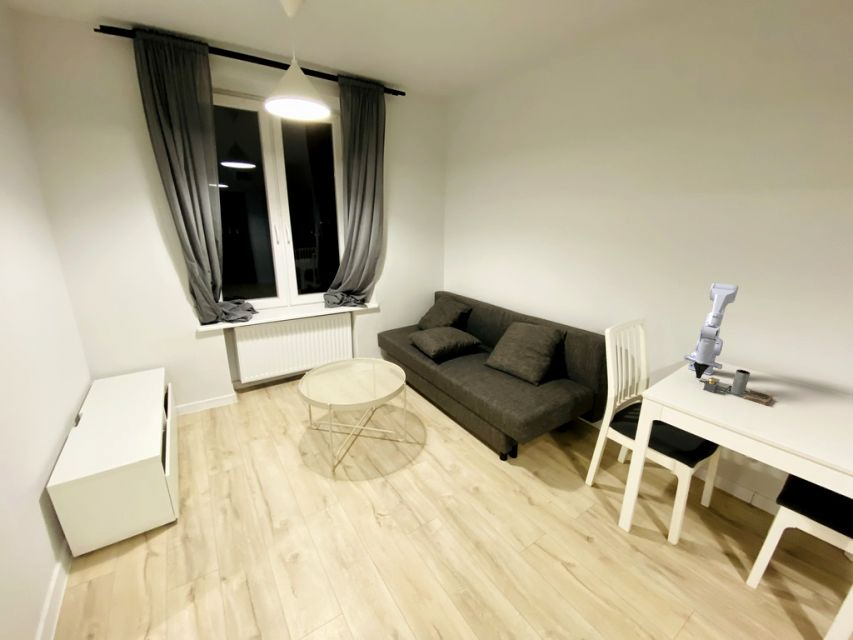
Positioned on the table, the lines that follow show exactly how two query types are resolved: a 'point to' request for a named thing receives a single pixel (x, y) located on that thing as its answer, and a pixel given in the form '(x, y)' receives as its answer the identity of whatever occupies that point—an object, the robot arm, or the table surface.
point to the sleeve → (732, 392)
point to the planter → (740, 382)
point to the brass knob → (712, 381)
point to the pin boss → (710, 387)
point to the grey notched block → (722, 385)
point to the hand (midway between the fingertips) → (698, 377)
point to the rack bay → (759, 399)
